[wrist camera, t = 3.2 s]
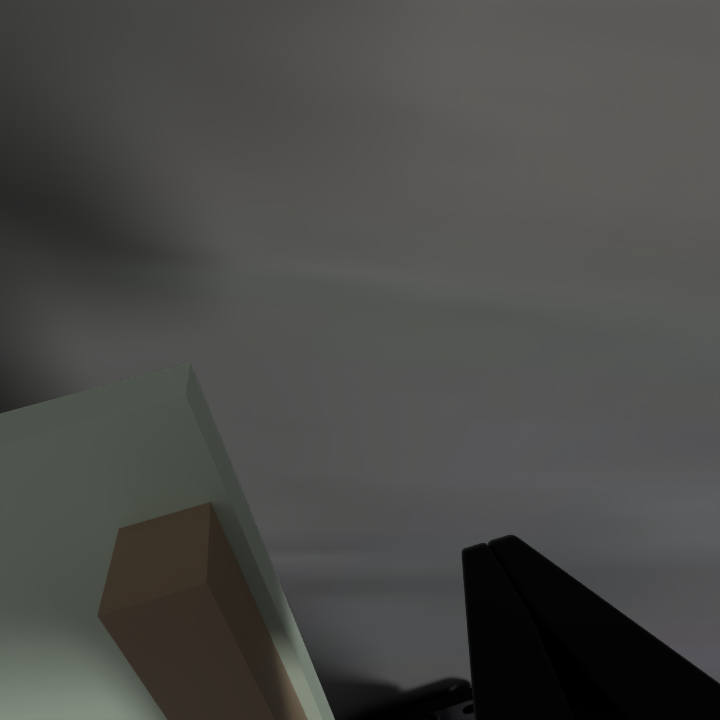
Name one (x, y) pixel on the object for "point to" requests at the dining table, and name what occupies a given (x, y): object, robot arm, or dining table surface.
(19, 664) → the lid
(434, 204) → the dining table surface
